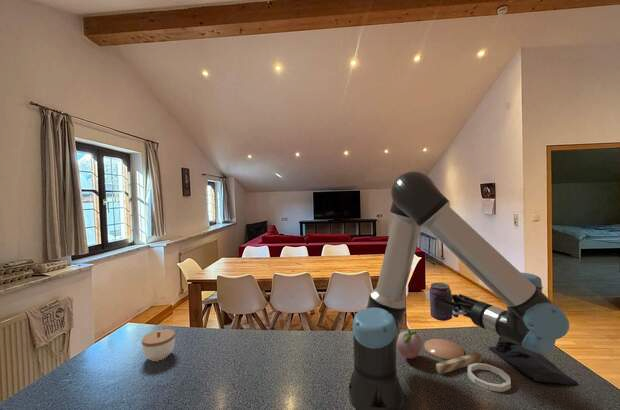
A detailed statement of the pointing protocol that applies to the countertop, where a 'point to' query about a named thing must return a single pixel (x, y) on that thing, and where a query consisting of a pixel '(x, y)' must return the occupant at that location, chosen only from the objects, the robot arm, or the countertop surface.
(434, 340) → the coaster
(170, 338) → the lidded jar
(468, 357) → the wooden bar
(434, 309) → the beverage can
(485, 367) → the ring
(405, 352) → the decorative fruit
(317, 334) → the countertop surface
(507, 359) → the dark slate chunk
